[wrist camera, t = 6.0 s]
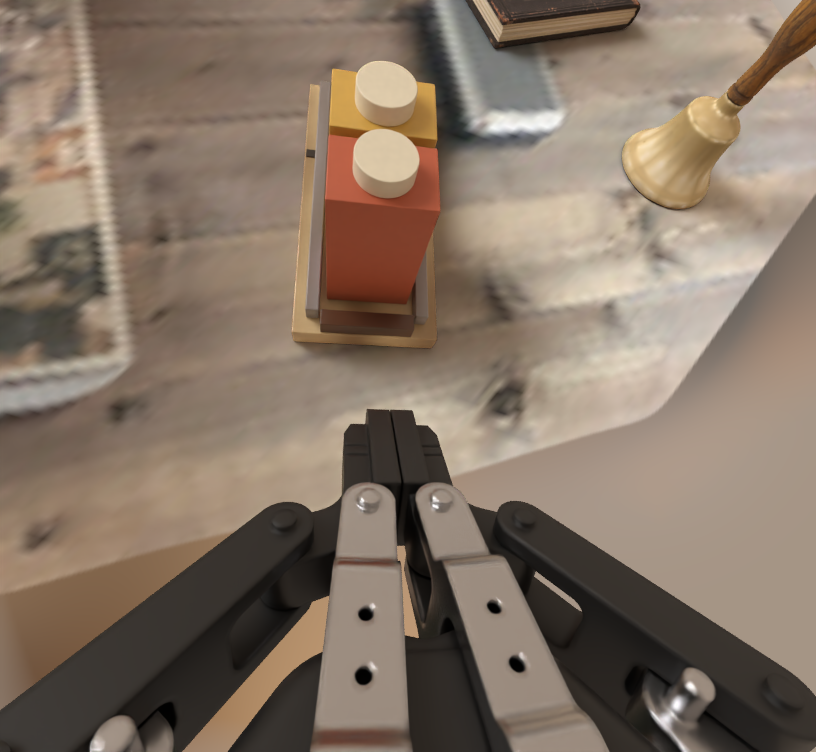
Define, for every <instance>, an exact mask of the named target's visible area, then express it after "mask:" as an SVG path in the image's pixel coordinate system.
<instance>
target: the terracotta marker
mask: <svg viewBox="0 0 816 752" xmlns="http://www.w3.org/2000/svg"><path fill="white" fill-rule="evenodd" d="M439 214H440V191H439V167H438V149H434V148H426V147H419V146H415V145H414V144H413V143H412V142H411V141H410V140H409V139H408V138H407V137H406V136H404V135H402V134H401V133H398V132H396V131H393V130H388V129H375V130H371V131H368V132H366V133H364V134H363V135H362V136H361V137H360V138H359V139H358V138H351V137H343V136H336V135H329V136H328V154H327V172H326V190H325V225H326V279H327V299H333V300H348V301H363V302H377V303H392V304H407V301H408V298H409V296H410V293H411V290H412V287H413V285H414V282H415V279H416V276H417V274H418V271H419V268H420V266H421V263H422V260H423V257H424V255H425V252H426V249H427V246H428V244H429V241H430V238H431V236H432V233H433V230H434V227H435V225H436V222H437V219H438V217H439Z"/></svg>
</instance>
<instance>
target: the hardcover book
mask: <svg viewBox="0 0 816 752" xmlns="http://www.w3.org/2000/svg"><path fill="white" fill-rule="evenodd" d="M466 2H467V3H468V5H469V7H470V8H471V10H472V12H473V13H474V15H475V17H476V18H477V20H478V22H479V23H480V25H481V27H482V28H483V30H484V32H485V33H486V35H487V37H488V38H489V40H490V42H491V43H492V45H493V47H494V48H498V47H505V46H512V45H519V44H526V43H532V42H539V41H546V40H553V39H560V38H567V37H573V36H580V35H587V34H594V33H601V32H607V31H614V30H621V29H625V28H626V27H628V26H629V25H630V24H631V23H632V21H633V20H634V18H635V17H636V15H637V14H638V12H639V10H640V4H639V2H638V1H637V0H466Z"/></svg>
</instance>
